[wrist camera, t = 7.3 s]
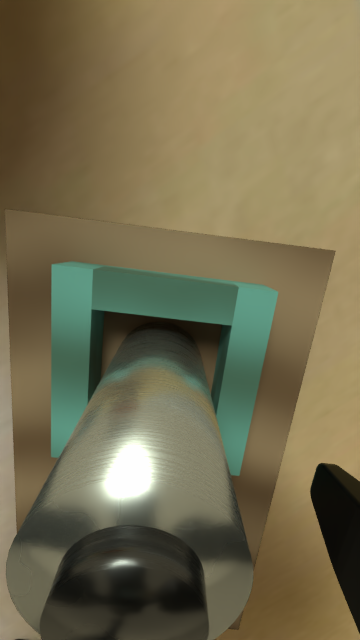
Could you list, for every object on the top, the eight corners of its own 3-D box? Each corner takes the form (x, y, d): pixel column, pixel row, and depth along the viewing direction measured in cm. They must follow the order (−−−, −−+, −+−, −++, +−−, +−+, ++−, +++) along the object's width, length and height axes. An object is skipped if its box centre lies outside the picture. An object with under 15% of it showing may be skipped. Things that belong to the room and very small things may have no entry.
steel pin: (195, 403, 14) (239, 720, 5) (114, 396, 14) (-11, 712, 4) (206, 326, 13) (291, 532, 4) (119, 317, 13) (-30, 509, 3)
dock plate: (235, 610, 19) (245, 675, 16) (28, 592, 19) (0, 656, 16) (324, 250, 13) (365, 251, 10) (18, 211, 13) (-31, 201, 10)
